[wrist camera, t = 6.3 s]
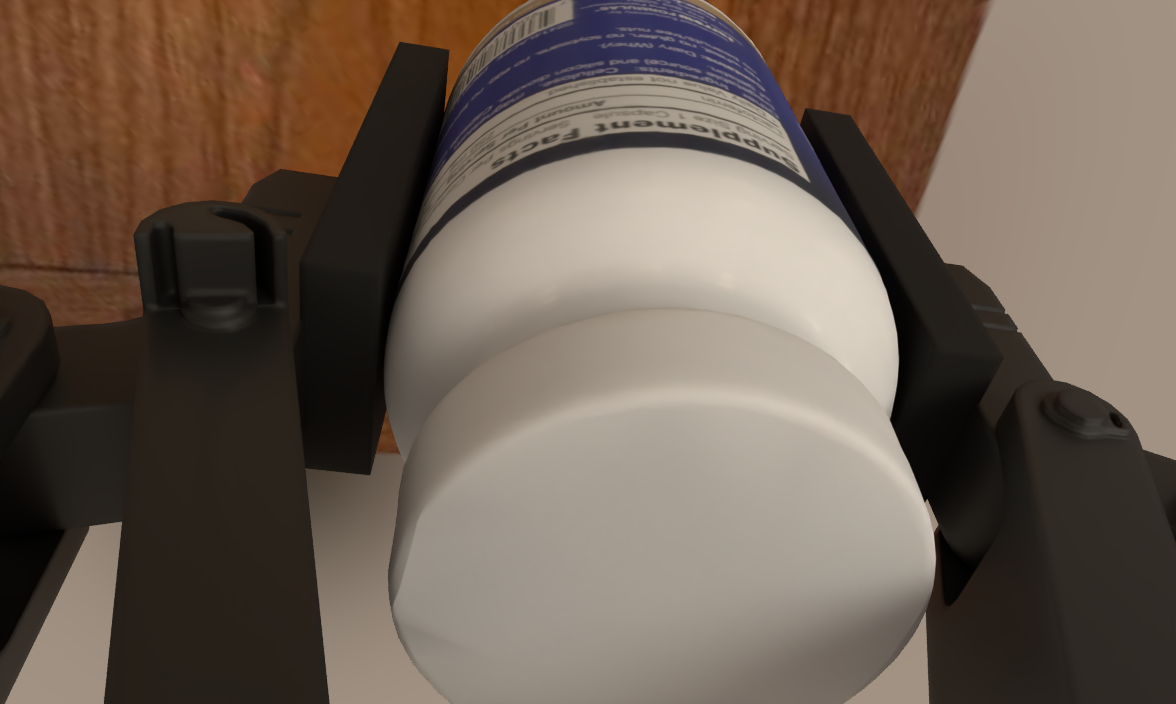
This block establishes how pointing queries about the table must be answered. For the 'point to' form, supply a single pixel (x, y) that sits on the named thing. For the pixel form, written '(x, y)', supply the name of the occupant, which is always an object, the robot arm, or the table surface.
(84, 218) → the table surface
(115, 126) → the table surface
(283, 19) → the table surface
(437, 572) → the pill bottle
